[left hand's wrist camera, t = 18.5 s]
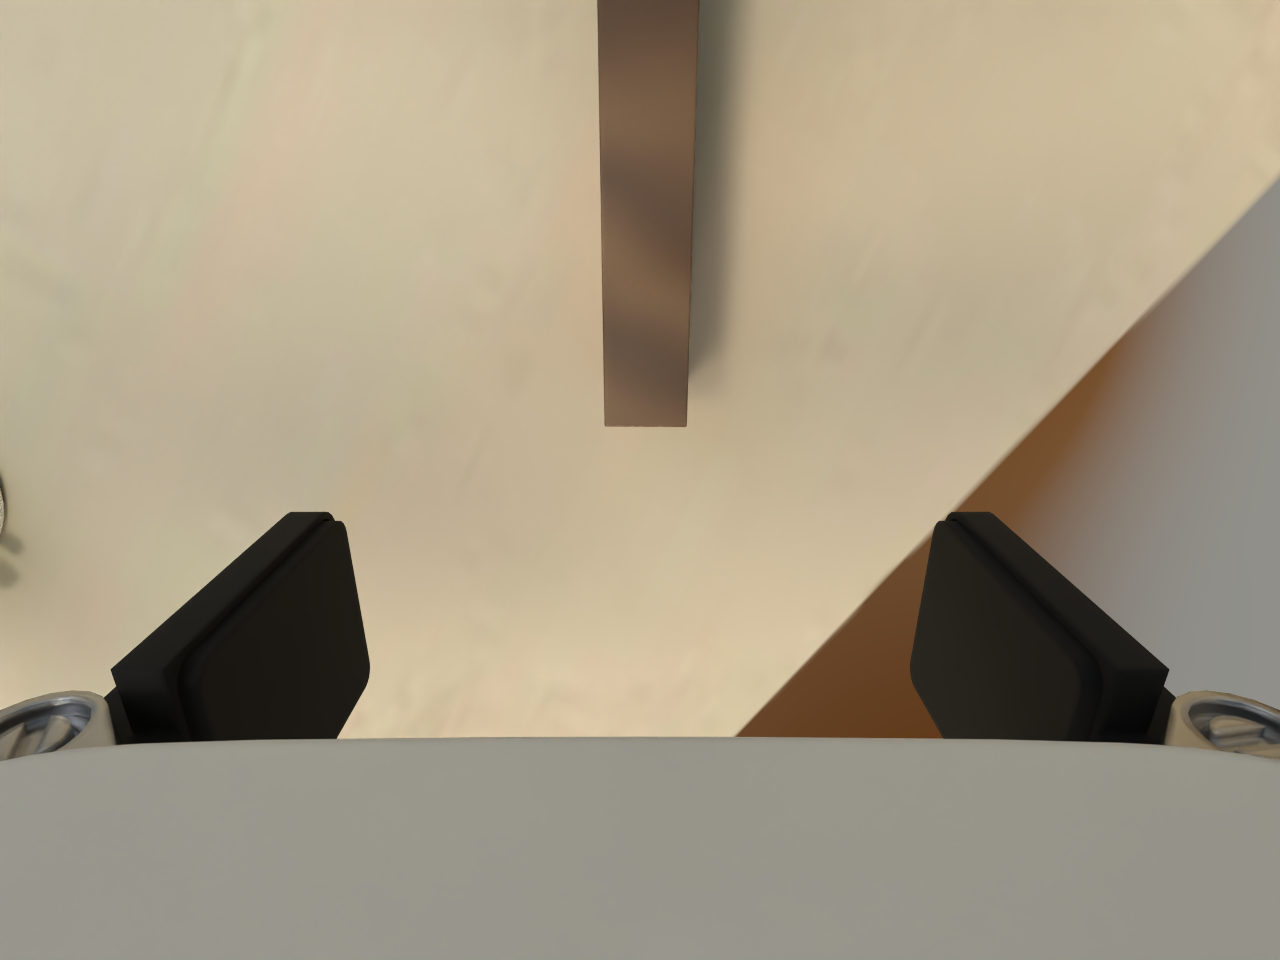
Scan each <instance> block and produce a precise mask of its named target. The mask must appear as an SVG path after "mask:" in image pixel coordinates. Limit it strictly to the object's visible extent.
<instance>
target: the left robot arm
mask: <svg viewBox="0 0 1280 960" xmlns="http://www.w3.org/2000/svg"><path fill="white" fill-rule="evenodd" d="M3 521H4V502H3V498H2V494H1V490H0V533H1V529H2V525H3ZM111 672H112V675H113V678H114V681H115V684H116V687H115V688H114V689H113V690H112V691H111V692H110V693H109V694H107V695H106V696H105V697H104V698H103V696H100V695H98V694H95V693H93V692H89V691H65V692H58V693H50V694H47V695H43V696H39V697H35V698H32V699H28V700H25V701H22V702H20V703H17V704H15V705H12V706H10V707H7V708H5V709H2V710H0V960H1280V710H1278V709H1275V708H1273V707H1270V706H1268V705H1265V704H1263V703H1260V702H1258V701H1255V700H1252V699H1248V698H1245V697H1241V696H1237V695H1233V694H1230V693H1222V692H1215V691H1191V692H1187V693H1185V694H1182V695H1180V696H1178V697H1177V698H1176V697H1175V696H1174V695H1172V694H1171V693H1170V692H1169V691H1168V690H1167V689H1166V688H1165V687H1164V684H1165V681H1166V678H1167V675H1168V672H1169V669H1168V668H1167V667H1166V666H1165V665H1164V664H1163V663H1162V662H1160V661H1159V660H1158V659H1157V658H1156V657H1155V656H1154V655H1152V654H1151V653H1150V652H1149V651H1148V650H1147V649H1146V648H1145V647H1143V646H1142V645H1141V644H1140V643H1139V642H1138V641H1136V640H1135V639H1134V638H1133V637H1132V636H1131V635H1130V634H1129V633H1128V632H1126V631H1125V630H1124V629H1123V628H1122V627H1121V626H1119V625H1118V624H1117V623H1116V622H1115V621H1114V620H1113V619H1112V618H1110V617H1109V616H1108V615H1107V614H1106V613H1105V612H1104V611H1103V610H1101V609H1100V608H1099V607H1098V606H1097V605H1096V604H1095V603H1093V602H1092V601H1091V600H1090V599H1089V598H1088V597H1087V596H1085V595H1084V594H1083V593H1082V592H1081V591H1080V590H1079V589H1078V588H1076V587H1075V586H1074V585H1073V584H1072V583H1071V582H1070V581H1068V580H1067V579H1066V578H1065V577H1064V576H1063V575H1062V574H1061V573H1059V572H1058V571H1057V570H1056V569H1055V568H1054V567H1053V566H1052V565H1050V564H1049V563H1048V562H1047V561H1046V560H1045V559H1044V558H1042V557H1041V556H1040V555H1039V554H1038V553H1037V552H1036V551H1035V550H1033V549H1032V548H1031V547H1030V546H1029V545H1028V544H1027V543H1025V542H1024V541H1023V540H1022V539H1021V538H1020V537H1019V536H1017V535H1016V534H1015V533H1014V532H1013V531H1012V530H1011V529H1010V528H1008V527H1007V526H1006V525H1005V524H1004V523H1003V522H1002V521H1000V520H999V519H998V518H997V517H996V516H995V515H994V514H992V513H990V512H951V513H950V514H949V515H948V516H947V518H946V520H945V521H939V522H937V523H936V525H935V527H934V531H933V536H932V542H931V548H930V553H929V559H928V565H927V570H926V576H925V582H924V588H923V593H922V599H921V605H920V610H919V616H918V621H917V627H916V633H915V638H914V644H913V650H912V655H911V662H910V673H911V679H912V683H913V685H914V687H915V689H916V691H917V693H918V694H919V696H920V698H921V700H922V702H923V703H924V705H925V707H926V709H927V710H928V712H929V714H930V716H931V717H932V719H933V721H934V723H935V724H936V726H937V728H938V730H939V732H940V733H941V735H942V737H943V739H900V738H899V739H897V738H784V737H471V738H381V739H337V737H338V735H339V733H340V732H341V730H342V728H343V726H344V724H345V723H346V721H347V719H348V717H349V716H350V714H351V712H352V710H353V709H354V707H355V705H356V703H357V702H358V700H359V698H360V696H361V694H362V693H363V691H364V689H365V687H366V685H367V683H368V679H369V673H370V661H369V655H368V650H367V644H366V638H365V633H364V627H363V621H362V616H361V610H360V604H359V599H358V593H357V587H356V582H355V576H354V570H353V565H352V559H351V553H350V548H349V542H348V536H347V531H346V527H345V525H344V523H343V522H341V521H335V520H334V518H333V516H332V515H331V514H330V513H329V512H290V513H288V514H286V515H285V516H284V517H283V518H282V519H281V520H280V521H278V522H277V523H276V524H275V525H274V526H273V527H272V528H270V529H269V530H268V531H267V532H266V533H265V534H264V535H262V536H261V537H260V538H259V539H258V540H257V541H256V542H255V543H253V544H252V545H251V546H250V547H249V548H248V549H247V550H245V551H244V552H243V553H242V554H241V555H240V556H239V557H238V558H236V559H235V560H234V561H233V562H232V563H231V564H230V565H228V566H227V567H226V568H225V569H224V570H223V571H222V572H221V573H219V574H218V575H217V576H216V577H215V578H214V579H213V580H211V581H210V582H209V583H208V584H207V585H206V586H205V587H204V588H202V589H201V590H200V591H199V592H198V593H197V594H196V595H194V596H193V597H192V598H191V599H190V600H189V601H188V602H187V603H185V604H184V605H183V606H182V607H181V608H180V609H179V610H177V611H176V612H175V613H174V614H173V615H172V616H171V617H169V618H168V619H167V620H166V621H165V622H164V623H163V624H162V625H160V626H159V627H158V628H157V629H156V630H155V631H154V632H152V633H151V634H150V635H149V636H148V637H147V638H146V639H145V640H143V641H142V642H141V643H140V644H139V645H138V646H137V647H135V648H134V649H133V650H132V651H131V652H130V653H129V654H128V655H126V656H125V657H124V658H123V659H122V660H121V661H120V662H118V663H117V664H116V665H115V666H114V667H113V668H112V669H111Z"/></svg>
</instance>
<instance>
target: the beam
mask: <svg viewBox="0 0 1280 960" xmlns="http://www.w3.org/2000/svg"><path fill="white" fill-rule="evenodd" d="M597 8H598V67H599V125H600V183H601V242H602V300H603V358H604V416H605V426H612V427H686V426H687V398H688V365H689V331H690V297H691V263H692V229H693V195H694V161H695V127H696V94H697V60H698V26H699V0H597Z"/></svg>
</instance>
